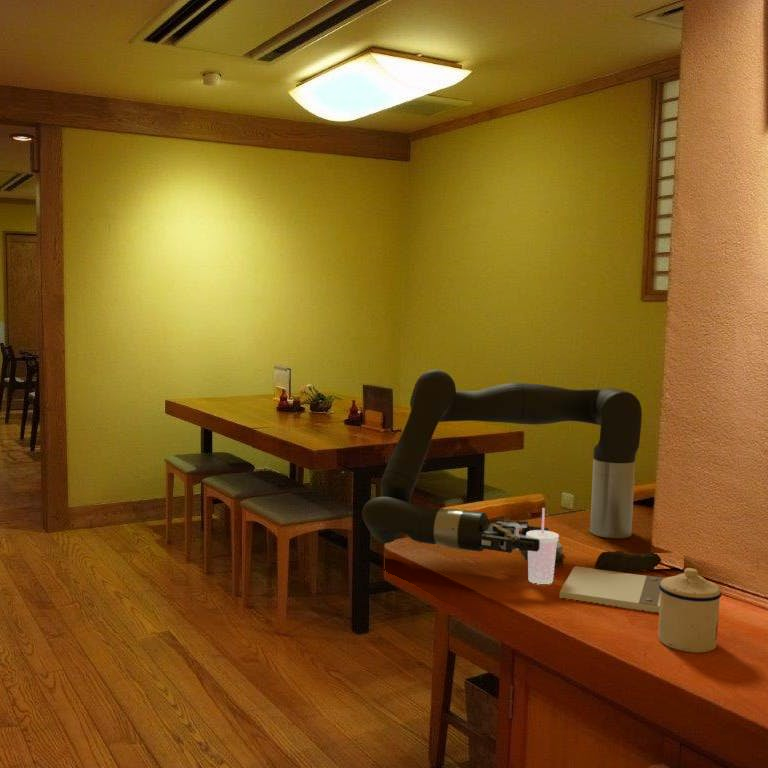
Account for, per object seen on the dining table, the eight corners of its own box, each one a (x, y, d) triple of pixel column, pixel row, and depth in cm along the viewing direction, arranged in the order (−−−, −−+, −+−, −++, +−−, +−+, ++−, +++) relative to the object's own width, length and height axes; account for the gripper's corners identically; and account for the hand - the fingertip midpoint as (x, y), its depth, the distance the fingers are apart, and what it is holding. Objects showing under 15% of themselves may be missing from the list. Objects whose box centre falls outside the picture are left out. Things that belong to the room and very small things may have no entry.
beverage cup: (543, 588, 154) (546, 513, 153) (517, 579, 159) (520, 507, 157) (563, 581, 158) (566, 509, 157) (537, 573, 163) (540, 502, 161)
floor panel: (574, 572, 164) (574, 564, 164) (705, 590, 155) (705, 582, 155) (559, 598, 149) (559, 590, 149) (703, 619, 140) (704, 611, 140)
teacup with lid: (730, 652, 127) (735, 577, 126) (676, 656, 125) (680, 580, 124) (686, 622, 139) (690, 554, 138) (636, 625, 137) (640, 556, 136)
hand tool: (674, 566, 170) (675, 544, 169) (685, 573, 166) (686, 550, 165) (588, 571, 165) (589, 548, 165) (597, 578, 161) (598, 554, 161)
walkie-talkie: (572, 568, 167) (550, 540, 187) (573, 547, 167) (551, 521, 187) (529, 568, 167) (511, 539, 187) (529, 546, 166) (511, 520, 186)
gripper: (450, 519, 157) (537, 529, 151) (471, 502, 170) (552, 511, 164) (449, 558, 157) (535, 569, 151) (470, 538, 170) (550, 549, 164)
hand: (543, 539), depth 157 cm, fingers open, 8 cm apart
